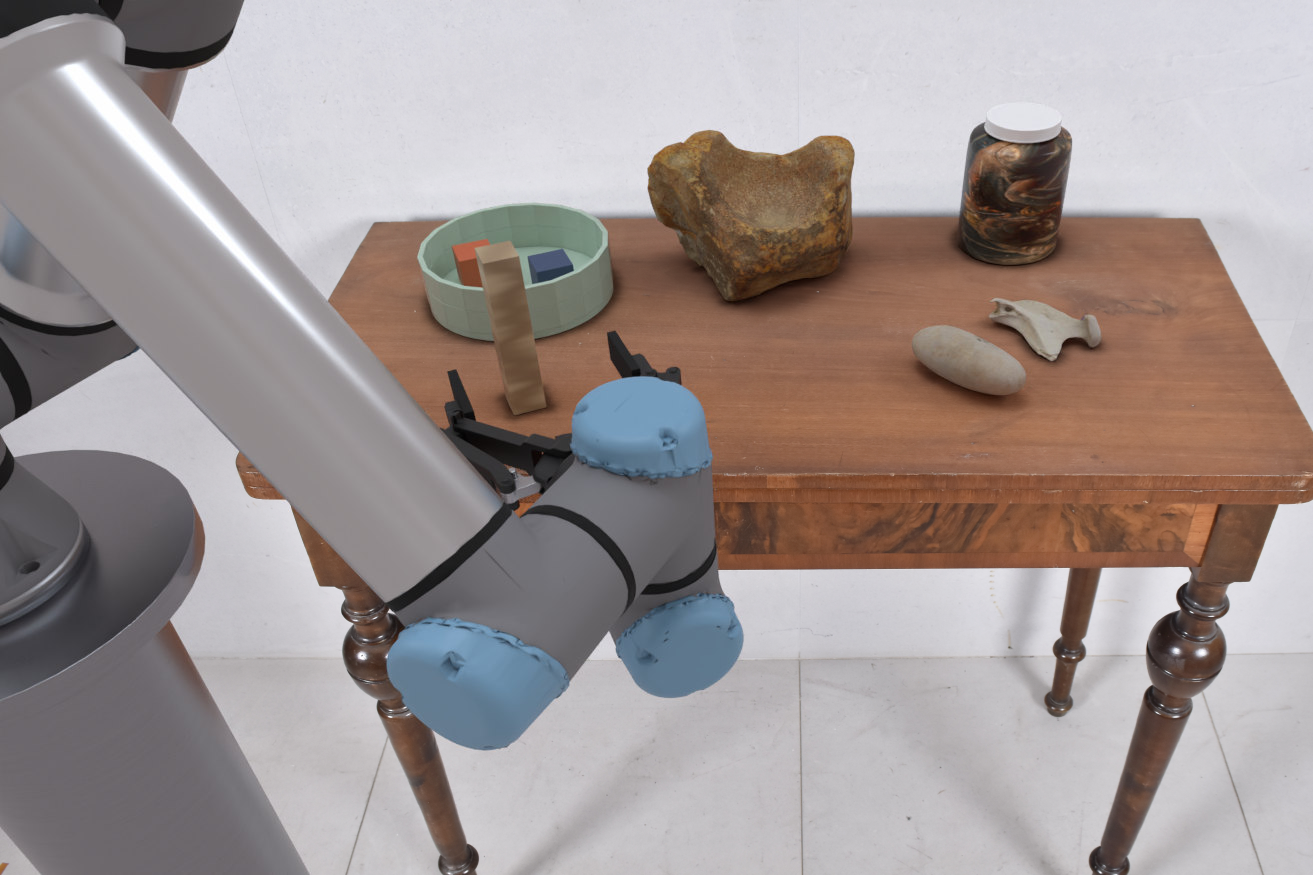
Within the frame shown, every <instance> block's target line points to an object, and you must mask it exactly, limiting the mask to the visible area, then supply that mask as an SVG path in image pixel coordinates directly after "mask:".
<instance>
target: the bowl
mask: <svg viewBox="0 0 1313 875" xmlns="http://www.w3.org/2000/svg"><path fill="white" fill-rule="evenodd" d="M484 239H488V241H489V243H490V245H491V244H496V243H501V242H506V241H511V243H512V244H513V246H514V248H515V250H516V251H517V253H518V255H519V258H520V263H521V269H522V274H523V280H524V285H525V291H526V296H527V302H528V307H529V313H530V318H531V324H532V329H533V335H534V340H536V339H540V338H546V337H551V336H555V335H557V334H560V333H562V332H563V333H564V332H566V331H569V330H572V329H574V328H576V327H578V326H581V325H582V324H584V323H586V322H588V321H590V320H591V319H592V318H594V317H595V316H597V315H598V314H599V313H600V312H601V311H602V310H603V309H604V308H606V306H607V305H608V304H609V303H610V300H611V299H612V296H613V293H614V289H615V288H614V285H615V284H614V271H613V270H614V269H613V263H612V253H611V246H610V238H609V231H608V229H607V228H606V226H604V224H603V223H602V222H601V220H600V219H599V218H597V217H596V216H594V215H592V214H590V213H588V212H586V211H585V210H582V209H578V208H574V207H571V206H567V205H563V204H557V203H555V204H554V203H545V202H521V203H520V202H519V203H518V202H517V203H506V204H500V205H496V206H491V207H485V208H480V209H477V210H474V211H471V212H468V213H465V214H463V215H460V216H457V217H453V218H452V219H450V220H449V221H447V222H445V223H443V224H442V225H440V226H438V227H436V228H434V229H433V230H432V231H431V232H430V233H429V234H428V235H427V236H426V237H425V238H424V240H423V241H422V242H421V243H420V245H419V246H420V247H419V250H418V252H417V256H416V258H417V262H418V267H419V271H420V274H421V275H420V276H421V278H422V283H423V287H424V291H425V295H426V299H427V301H428V305H429V308H430V312H431V314H432V315H433V317H434V319H435V320H436V321H437V322H438V323H439V324H440V325H441V326H442V327H444V328H445V329H447V330H449V331H450V332H453V333H455V334H457V335H460V336H463V337H466V338H469V339H474V340H480V341H487V342H494V338H493V334H492V329H491V324H490V319H489V315H488V310H487V305H486V300H485V296H484V291H483V288H481V287H471V286H463V285H462V284H461V282H460V280H459V277H458V273H457V268H456V264H455V259H454V255H453V250H452V246H454V245H459V244H464V243H469V242H474V241H479V240H484ZM559 249H563V250H564V251H565V253H566V254H567V256H568V258H569V259H570V261H571V262H572V264H573V267H574V271H573V272H570V273H568V274H565V275H563V276H560V277H558V278H555V279H553V280H550V281H545V282H541V283H536V284H532V280H531V274H530V269H529V263H528V256H531V255H536V254H540V253H545V252H550V251H554V250H559Z"/></svg>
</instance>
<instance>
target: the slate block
mask: <svg viewBox="0 0 1313 875" xmlns="http://www.w3.org/2000/svg"><path fill="white" fill-rule="evenodd" d="M528 263H529V269H530V274H531V280H532V284H536V283H541V282H545V281H550V280H553V279H555V278H558V277H560V276H563V275H565V274H568V273H570V272H573V271H574V267H573V264H572V262H571V261H570V259H569V258H568V256H567V254H566V253H565V251H564V250H563V249H559V250H554V251H550V252H545V253H540V254H536V255H531V256H528Z"/></svg>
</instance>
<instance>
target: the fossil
mask: <svg viewBox="0 0 1313 875" xmlns="http://www.w3.org/2000/svg"><path fill="white" fill-rule="evenodd" d="M994 302H995V305H996V308H995V310H992V311H991V313H989V315H988V319H990V321H992V322H995V323H999V324H1002V325H1004V326H1005V325H1006V326H1008V327H1011V328H1013V329H1014V330H1016V331H1018V332H1019V333H1020V334H1021V335H1022V336H1023V337H1024V339H1025V340H1026V342H1027V343H1028V345H1029V346H1030V347H1031V349H1032V350H1033V351H1034V352H1035V353H1036V354H1038V356H1042V357H1043V358H1046V359H1047V360H1048V361H1050V362H1053V361H1055V360H1057V359H1058V356H1059V354H1060V353H1061V350H1062V345H1063V343H1064V342H1065V341H1066V340H1067V339H1070V338H1080V339H1083V340H1084V341H1085V342H1086V343H1087V345H1088V347H1089V348H1095V347H1097V346H1099V344H1100V342H1101V339H1102V331H1101V328H1100V325H1099V323H1098V320H1097V316H1095V315H1093V314H1084V315H1083V316H1082V317H1081V318H1080V319H1076V318H1074V317H1071V316H1070V315H1068V314H1066V313H1065V312H1063V311H1061V310H1059V309H1057V308H1054V307H1052V306H1051V305H1049V304H1047V303H1045V302H1041V301H1038V300H1032V299H1020V300H1014V301H1011V300H1009V299H1004V298H999V297H994V298H992V300H990V301H989V303H991V304H992V303H994Z"/></svg>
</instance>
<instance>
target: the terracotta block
mask: <svg viewBox="0 0 1313 875" xmlns="http://www.w3.org/2000/svg"><path fill="white" fill-rule="evenodd" d="M486 245H490V243H489V241H488V239H484V240H479V241H474V242H469V243H464V244H459V245H454V246H452V250H453V255H454V259H455V264H456V268H457V273H458V277H459V280H460V282H461V284H462V285H463V286H471V287H481V288H483V286H482V281H481V277H480V272H479V267H478V262H477V258H476V253H475V248H477V247H482V246H486Z"/></svg>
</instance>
